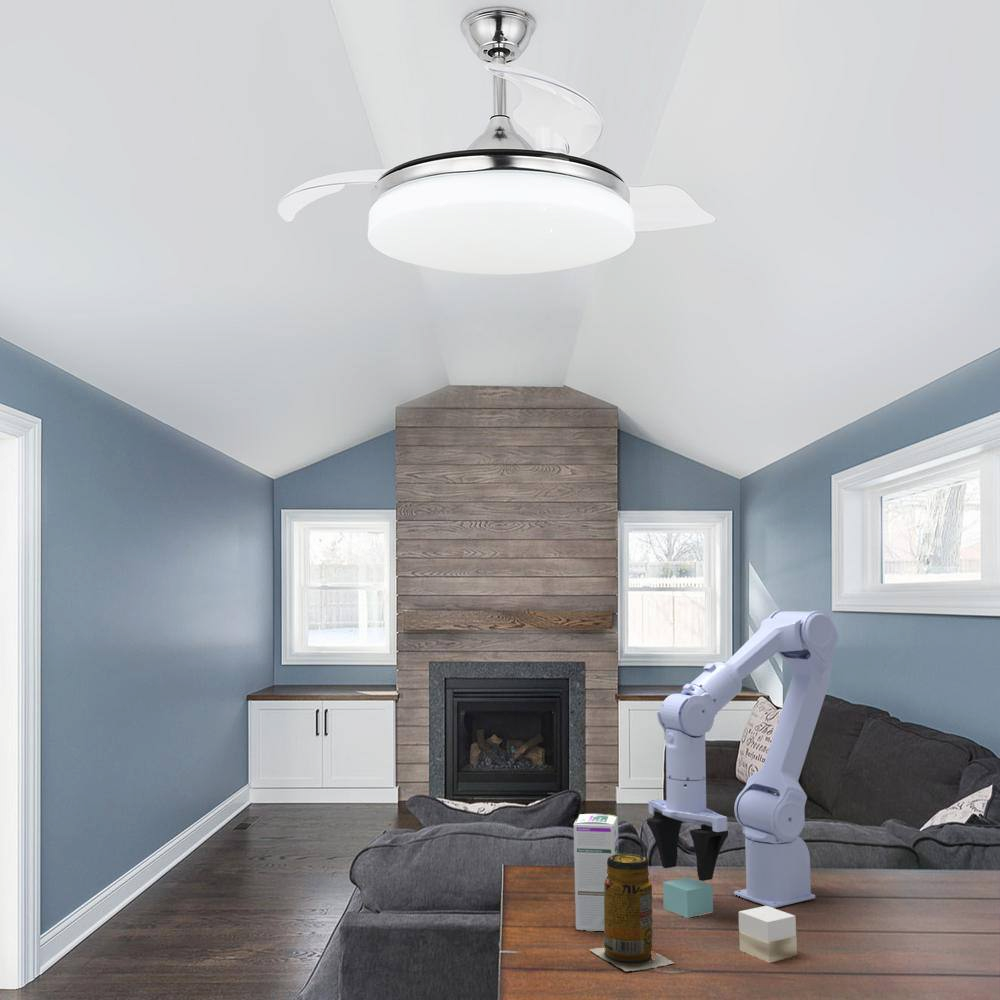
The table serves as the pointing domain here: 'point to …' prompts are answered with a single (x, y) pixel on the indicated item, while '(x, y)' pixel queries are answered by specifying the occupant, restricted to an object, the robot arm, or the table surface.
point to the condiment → (628, 915)
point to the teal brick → (688, 897)
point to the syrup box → (592, 866)
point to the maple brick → (768, 948)
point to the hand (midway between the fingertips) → (687, 873)
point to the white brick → (767, 924)
